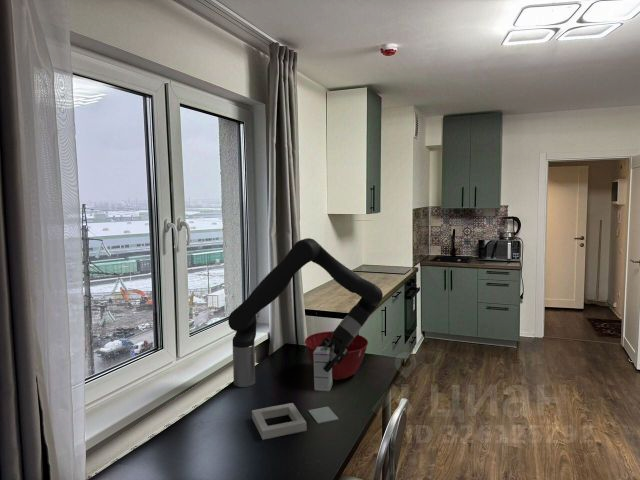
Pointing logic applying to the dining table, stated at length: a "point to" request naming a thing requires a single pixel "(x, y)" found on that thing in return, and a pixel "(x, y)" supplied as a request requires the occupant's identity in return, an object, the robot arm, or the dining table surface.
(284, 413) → the hollow square frame
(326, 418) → the rubber mat
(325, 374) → the syrup box
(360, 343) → the mixing bowl
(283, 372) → the dining table surface
